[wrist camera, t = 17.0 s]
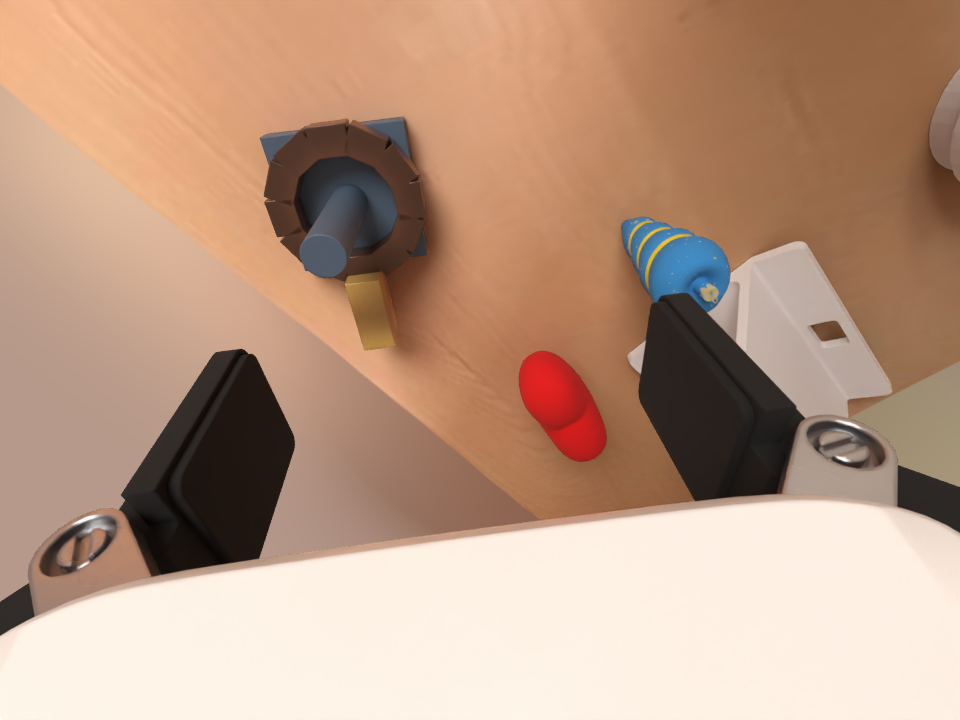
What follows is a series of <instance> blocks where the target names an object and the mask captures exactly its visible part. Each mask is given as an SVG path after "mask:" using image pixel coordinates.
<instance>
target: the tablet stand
mask: <svg viewBox="0 0 960 720" xmlns="http://www.w3.org/2000/svg"><path fill="white" fill-rule="evenodd" d="M730 274H731V276H730V283H729V286H728V289H727V291H726V293H725V294H724V296H723V297H722V299H721V300H720V302H719V303H718V305H717V306H716V307H715V308H714V309H712V310H711V311H709V312H707V313H708V314H709V315H710V316H711V317H712V318H713V319H714V320H715V321H716V322H717V324H718V325H719V326H720V327H721V328H722V329H723V330H724V331H725V332H726V333H727V334H728V335H729V336H730V337H731V338H732V339H733V340H734V341H735V342H736V343H737V344H738V345H739V346H740V348H741V349H742V350H743V351H744V352H745V353H746V354H747V355H748V356H749V357H750V358H751V359H752V360H753V361H754V362H755V363H756V364H757V365H758V366H759V367H760V368H761V369H762V370H763V372H764V373H765V374H766V375H767V376H768V377H769V378H770V379H771V380H772V381H773V382H774V383H775V384H776V385H777V386H778V387H779V388H780V389H781V390H782V391H783V392H784V393H785V394H786V396H787V397H788V398H789V399H790V400H791V401H792V402H793V403H794V404H795V405H796V406H797V407H796V409H797V410H798V411H799V412H800V413H801V414H802V415H803V416H804V417H805V418H808V417H811V416H816V415H836V416H841V417H846V418H848V404H847V401H848V400H849V399H854V398H864V397H873V396H883V395H888V394H891V393H892V387H891V382H890V381H889V379H888V378H887V376H886V374H885V373H884V371H883V369H882V368H881V366H880V364H879V363H878V361H877V359H876V358H875V356H874V354H873V353H872V351H871V349H870V348H869V346H868V344H867V343H866V341H865V340H864V338H863V336H862V335H861V333H860V331H859V330H858V328H857V326H856V325H855V323H854V321H853V320H852V318H851V316H850V315H849V313H848V311H847V310H846V308H845V307H844V305H843V303H842V302H841V300H840V298H839V297H838V295H837V293H836V292H835V290H834V288H833V287H832V285H831V283H830V282H829V280H828V278H827V277H826V275H825V273H824V272H823V270H822V269H821V267H820V265H819V264H818V262H817V260H816V259H815V257H814V255H813V254H812V252H811V250H810V249H809V247H808V245H807V244H806V243H804V242H801V241H797V242H792V243H789V244H787V245H784V246H781V247H778V248H775V249H773V250H770V251H767V252H764V253H761V254H759V255H756V256H753V257H751V258H749V259H748V260H747V261H746V262H744V263H743V264H742V265H741V266H739V267H738V268H737V269H735V270H734V271H733V272H732V273H730ZM828 321H837V322H838V323H839V325H840V326H841V328H842V329H843V331H844V333H845V334H846V336H847V337H844V338H839V339H834V340H830V341H821V340H820V339H819V338H818V336H817V335H816V333H815V332H814V330H813V329H812V328H811V326H810V325H814V324H818V323H823V322H828ZM645 342H646V340H645V341H644V342H643V343H641V344H640V345H639V346H638V347H636V348H635V349H634V350H633V351H631V352H630V353H629V354H628V357H627V359H628V361H629V363H630V364H631V366H632V367H633V368H634V369H635V370H637V371H638V372H639V373H640V374H641V369H642V363H643V356H644V349H645Z"/></svg>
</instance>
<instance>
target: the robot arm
mask: <svg viewBox="0 0 960 720" xmlns="http://www.w3.org/2000/svg"><path fill="white" fill-rule="evenodd" d="M639 399H640V402H641V405H642V406H643V408H644V410H645V412H646V414H647V415H648V417H649V419H650V421H651V423H652V424H653V426H654V428H655V430H656V432H657V434H658V435H659V437H660V439H661V441H662V443H663V444H664V446H665V448H666V450H667V452H668V453H669V455H670V457H671V459H672V461H673V462H674V464H675V466H676V468H677V470H678V471H679V473H680V475H681V477H682V479H683V480H684V482H685V484H686V486H687V488H688V489H689V491H690V493H691V495H692V497H693V498H694V500H695V501H694V502H685V503H676V504H667V505H658V506H650V507H642V508H634V509H626V510H619V511H611V512H603V513H595V514H587V515H580V516H572V517H564V518H556V519H548V520H540V521H533V522H525V523H518V524H510V525H503V526H495V527H488V528H481V529H472V530H465V531H458V532H451V533H442V534H435V535H428V536H420V537H413V538H405V539H398V540H390V541H383V542H376V543H369V544H361V545H354V546H347V547H340V548H334V549H326V550H318V551H311V552H305V553H297V554H289V555H282V556H275V557H268V558H261V559H259V557H260V554H261V551H262V548H263V545H264V542H265V539H266V536H267V532H268V529H269V526H270V523H271V520H272V517H273V514H274V511H275V507H276V504H277V501H278V498H279V495H280V492H281V489H282V486H283V482H284V480H285V476H286V473H287V470H288V467H289V464H290V461H291V458H292V455H293V452H294V448H295V440H294V436H293V433H292V431H291V429H290V427H289V424H288V422H287V420H286V418H285V416H284V414H283V412H282V410H281V408H280V406H279V404H278V402H277V400H276V397H275V395H274V393H273V392H272V389H271V387H270V385H269V383H268V381H267V379H266V377H265V375H264V373H263V371H262V368H261V366H260V364H259V362H258V360H257V358H256V357H255V356H254V355H253V354H248V353H247V352H246V351H245V350H243V349H237V350H229V351H221V352H216V353H215V354H214V355H213V356H212V357H211V359H210V360H209V362H208V363H207V365H206V366H205V368H204V369H203V371H202V372H201V374H200V375H199V377H198V379H197V380H196V382H195V383H194V385H193V386H192V388H191V389H190V391H189V392H188V394H187V395H186V397H185V398H184V400H183V401H182V403H181V404H180V406H179V407H178V409H177V410H176V412H175V413H174V415H173V417H172V418H171V419H170V421H169V422H168V424H167V426H166V427H165V429H164V430H163V432H162V433H161V435H160V436H159V438H158V439H157V441H156V442H155V444H154V445H153V447H152V448H151V450H150V451H149V453H148V454H147V456H146V457H145V459H144V460H143V462H142V463H141V465H140V467H139V468H138V470H137V471H136V473H135V474H134V476H133V477H132V479H131V480H130V482H129V483H128V485H127V487H126V488H125V489H124V491H123V492H122V494H121V496H122V497H123V498H124V499H125V502H124V503H123V505H122V506H121V508H120V509H119V510H116V509H113V508H110V509H99V510H96V511H92V512H89V513H86V514H84V515H82V516H80V517H78V518H76V519H73V520H72V521H70V522H69V523H67V524H66V525H64V526H63V527H61V528H59V529H58V530H57V531H56V532H55V533H54V534H52V535H51V536H50V537H49V538H48V539H47V540H46V541H45V542H44V543H43V544H42V545H41V546H40V547H39V549H38V550H37V551H36V552H35V554H34V556H33V558H32V560H31V562H30V564H29V569H28V579H29V583H28V584H27V585H25V586H24V587H22V588H21V589H19V590H18V591H16V592H14V593H13V594H12V595H10V596H8V597H7V598H5V599H4V600H2V601H1V602H0V720H960V487H958V486H955V485H952V484H949V483H947V482H944V481H941V480H938V479H935V478H932V477H930V476H927V475H924V474H921V473H919V472H916V471H913V470H910V469H907V468H904V467H902V466H899V465H898V459H897V455H896V451H895V449H894V448H893V446H892V445H891V444H890V442H889V441H888V440H887V439H886V438H885V437H883V436H882V435H881V434H880V433H878V432H877V431H876V430H874V429H872V428H870V427H869V426H866V425H865V424H863V423H860V422H858V421H855V420H852V419H849V418H846V417H841V416H836V415H816V416H811V417H808V418H805V417H804V416H803V415H802V414H801V413H800V412H799V411H798V410H797V409H796V407H797V406H796V405H795V404H794V403H793V402H792V401H791V400H790V399H789V398H788V397H787V396H786V394H785V393H784V392H783V391H782V390H781V389H780V388H779V387H778V386H777V385H776V384H775V383H774V382H773V381H772V380H771V379H770V378H769V377H768V376H767V375H766V374H765V373H764V372H763V370H762V369H761V368H760V367H759V366H758V365H757V364H756V363H755V362H754V361H753V360H752V359H751V358H750V357H749V356H748V355H747V354H746V353H745V352H744V351H743V350H742V349H741V348H740V346H739V345H738V344H737V343H736V342H735V341H734V340H733V339H732V338H731V337H730V336H729V335H728V334H727V333H726V332H725V331H724V330H723V329H722V328H721V327H720V326H719V325H718V324H717V322H716V321H715V320H714V319H713V318H712V317H711V316H710V315H709V314H708V313H707V312H706V311H705V310H704V309H703V308H702V307H701V306H700V305H699V304H698V303H697V302H696V301H695V300H694V298H693V297H692V296H691V295H690V294H688V293H677V294H669V295H662V296H660V297H659V299H658V302H654V303H653V304H652V305H651V308H650V315H649V322H648V328H647V335H646V342H645V349H644V356H643V363H642V369H641V376H640V383H639Z"/></svg>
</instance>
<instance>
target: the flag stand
mask: <svg viewBox="0 0 960 720" xmlns="http://www.w3.org/2000/svg"><path fill="white" fill-rule="evenodd" d="M929 144H930V149H931V152H932V155H933V157H934V158H935V160H936V161H937V162H938V163H939V164H940V165H942V166H943V167H945V168H946V169H950V170H953V172H954V175H955V177H956V178H957V179H958V180H959V182H960V68H959V70H958V71H957V72H956V73H955V75H954V76H953V78H952V79H951V81H950V82H949V84H948V85H947V87H946V88H945V90H944V92H943V94H942V96H941V98H940V100H939V102H938V104H937V106H936V108H935V111H934V114H933V117H932V120H931V125H930V132H929Z"/></svg>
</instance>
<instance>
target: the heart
mask: <svg viewBox="0 0 960 720" xmlns="http://www.w3.org/2000/svg"><path fill="white" fill-rule="evenodd" d="M519 387H520V392H521V396H522V400H523V402H524V404H525V406H526V408H527V410H528V411H529V412H530V414H531V415H532V416H533V417H534V418H535V419H536V420H537V421H538V422H539V423H540V425H541V426H542V428H543V429H544V430H545V432H546V433H547V435H548V436H549V437H550V439H551V440H552V441H553V443H554V444H555V445H556V446H557V448H558V449H559V450H560V451H561V452H562V453H563V454H564V455H565V456H567V457H568V458H570V459H572V460H574V461H579V462H584V461H590V460H592V459H594V458H596V457H597V456H599V455H600V454H601V452H602V451H603V450H604V448H605V445H606V440H607V436H606V430H605V426H604V423H603V420H602V418H601V415H600V413H599V410H598V408H597V406H596V403H595V401H594V399H593V397H592V395H591V394H590V392H589V390H588V388H587V387H586V385H585V384H584V382H583V381H582V379H581V378H580V377H579V375H578V374H577V373H576V372H575V371H574V369H573V368H572V367H571V366H570V365H569V364H567V363H566V362H565V361H564V360H563V359H562V358H560V357H559V356H557V355H556V354H554V353H551V352H547V351H538V352H535V353H533V354H531V355H529V356H528V357H527V358H526V359H525V360H524V361H523V363H522V365H521V368H520V372H519Z"/></svg>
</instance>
